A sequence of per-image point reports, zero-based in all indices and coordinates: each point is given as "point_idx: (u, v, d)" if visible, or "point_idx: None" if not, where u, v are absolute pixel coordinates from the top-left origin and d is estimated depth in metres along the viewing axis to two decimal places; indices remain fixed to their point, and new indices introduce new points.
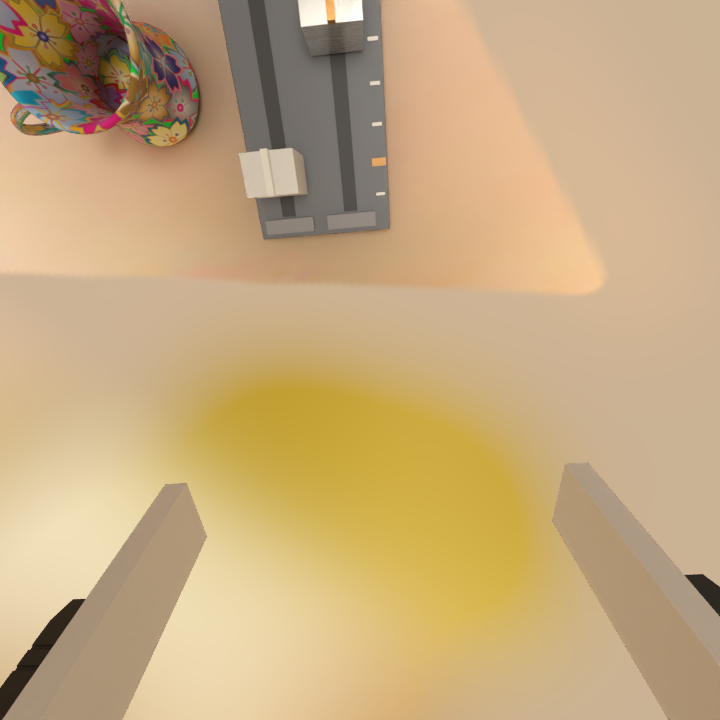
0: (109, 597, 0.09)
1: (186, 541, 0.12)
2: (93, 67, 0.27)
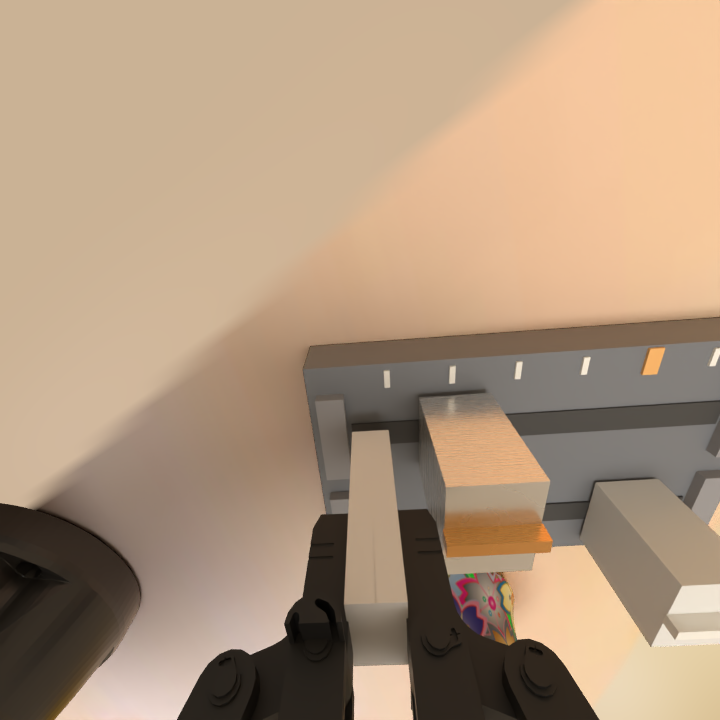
0: (367, 507, 0.10)
1: None
2: None
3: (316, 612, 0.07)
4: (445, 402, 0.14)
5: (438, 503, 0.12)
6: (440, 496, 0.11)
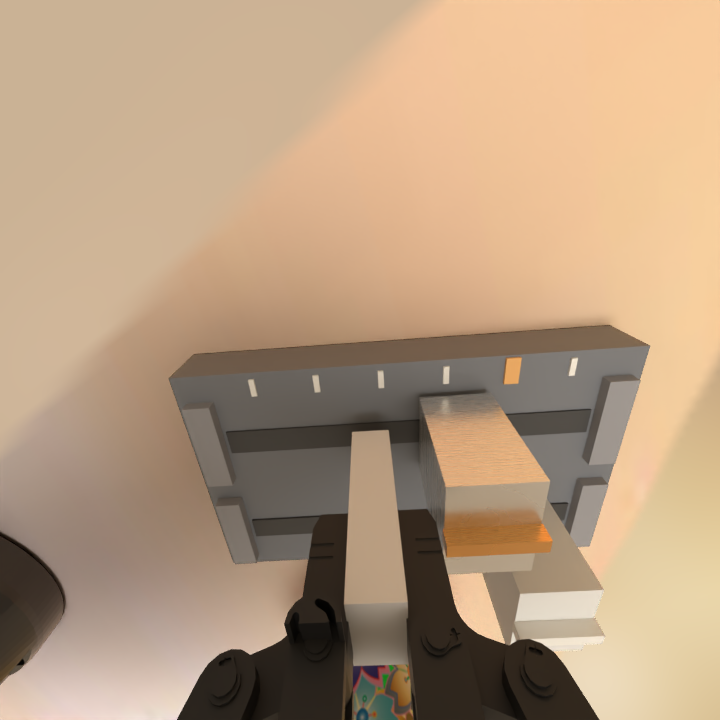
0: (367, 507, 0.10)
1: None
2: None
3: (316, 612, 0.07)
4: (445, 402, 0.14)
5: (438, 503, 0.12)
6: (440, 496, 0.11)
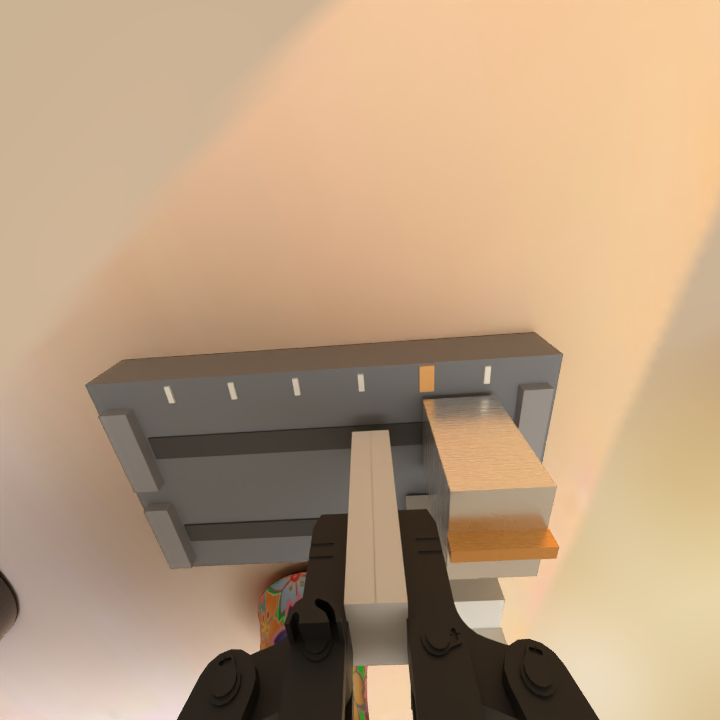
0: (367, 507, 0.10)
1: None
2: None
3: (316, 612, 0.07)
4: (449, 405, 0.14)
5: (442, 507, 0.11)
6: (444, 500, 0.11)
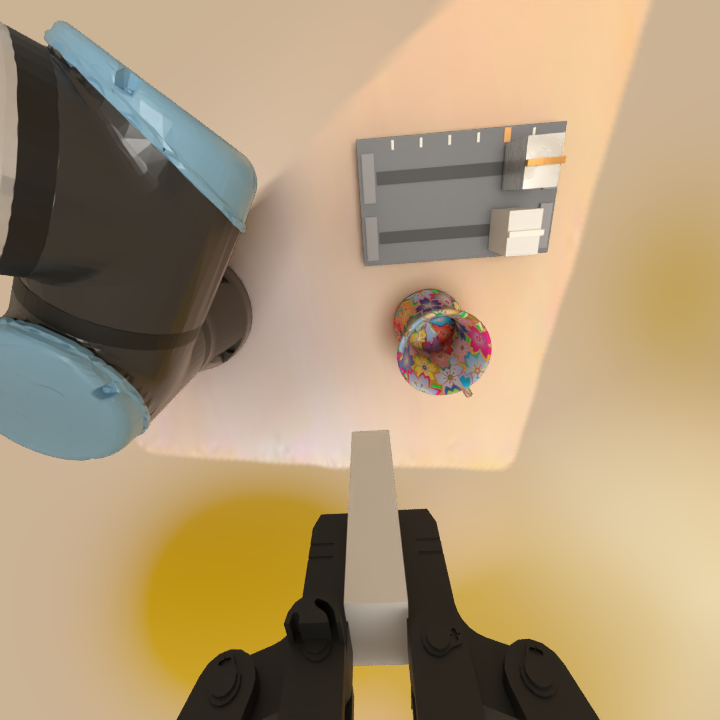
0: (367, 507, 0.10)
1: None
2: (422, 351, 0.42)
3: (316, 612, 0.07)
4: None
5: (521, 159, 0.30)
6: (523, 151, 0.30)
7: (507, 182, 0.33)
